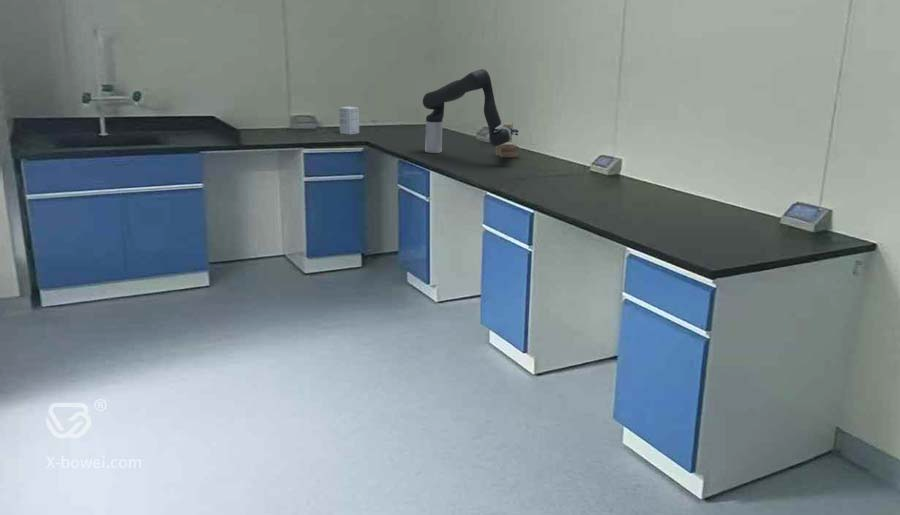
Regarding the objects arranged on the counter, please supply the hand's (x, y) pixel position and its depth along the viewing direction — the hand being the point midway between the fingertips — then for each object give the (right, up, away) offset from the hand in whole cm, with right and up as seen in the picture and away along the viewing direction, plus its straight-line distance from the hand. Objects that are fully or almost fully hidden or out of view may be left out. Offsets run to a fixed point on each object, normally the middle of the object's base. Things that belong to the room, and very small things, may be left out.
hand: (508, 130), depth 413 cm
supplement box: (-99, +10, +71) cm, 122 cm away
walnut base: (-1, -14, +2) cm, 14 cm away
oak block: (-1, -7, -1) cm, 7 cm away
